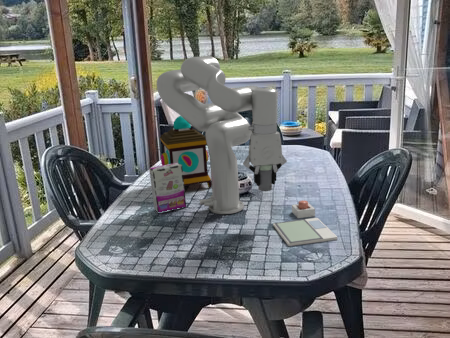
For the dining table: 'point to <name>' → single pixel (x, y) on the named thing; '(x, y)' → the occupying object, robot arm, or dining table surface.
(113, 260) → the dining table surface
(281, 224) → the picture board
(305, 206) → the button
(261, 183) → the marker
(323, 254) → the dining table surface
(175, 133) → the decorative lantern
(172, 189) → the candy bar box
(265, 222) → the dining table surface
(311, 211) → the button housing
